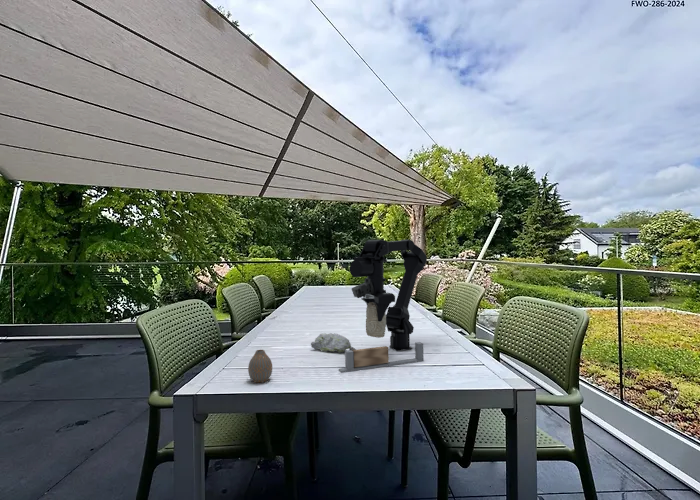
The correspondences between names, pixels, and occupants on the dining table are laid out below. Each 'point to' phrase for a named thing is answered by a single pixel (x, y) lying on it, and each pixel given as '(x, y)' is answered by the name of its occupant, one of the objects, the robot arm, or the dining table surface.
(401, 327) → the robot arm
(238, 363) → the dining table surface
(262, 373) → the vase
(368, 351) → the brown boxy piece
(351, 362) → the grey bracket bar
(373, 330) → the carving
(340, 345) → the rock
